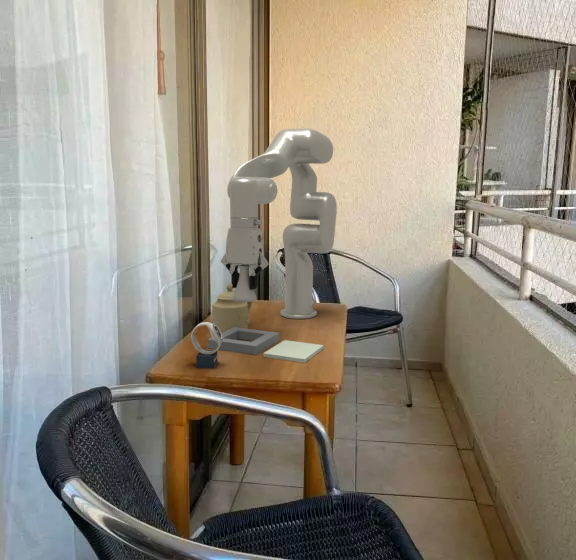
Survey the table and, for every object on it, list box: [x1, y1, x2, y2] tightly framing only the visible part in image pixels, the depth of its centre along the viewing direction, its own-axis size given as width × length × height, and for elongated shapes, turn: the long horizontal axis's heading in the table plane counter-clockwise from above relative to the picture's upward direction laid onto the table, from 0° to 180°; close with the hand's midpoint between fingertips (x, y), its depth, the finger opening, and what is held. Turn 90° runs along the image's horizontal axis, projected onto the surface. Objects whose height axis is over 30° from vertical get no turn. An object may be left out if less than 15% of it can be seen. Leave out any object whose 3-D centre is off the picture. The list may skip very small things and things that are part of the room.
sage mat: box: [262, 339, 325, 364], centre depth 162 cm, size 14×12×1 cm
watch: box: [190, 321, 223, 369], centre depth 150 cm, size 6×8×11 cm
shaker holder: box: [207, 327, 280, 356], centre depth 169 cm, size 15×15×2 cm
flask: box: [232, 264, 258, 303], centre depth 166 cm, size 7×7×10 cm
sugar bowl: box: [211, 282, 253, 333], centre depth 185 cm, size 15×11×15 cm
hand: (244, 287), depth 167 cm, fingers closed on flask, 4 cm apart
